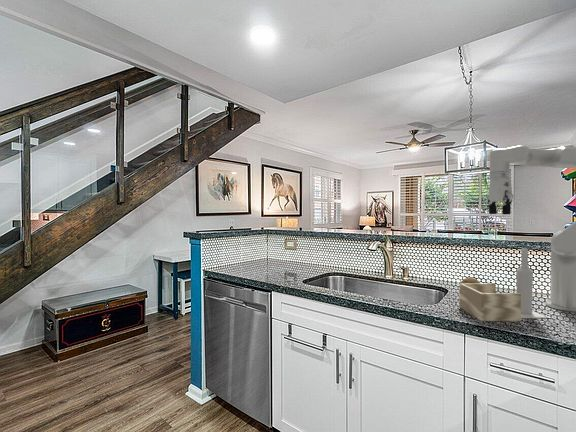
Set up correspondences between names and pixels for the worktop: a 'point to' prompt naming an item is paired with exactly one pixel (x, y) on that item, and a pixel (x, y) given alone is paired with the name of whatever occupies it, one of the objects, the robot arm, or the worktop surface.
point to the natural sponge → (470, 280)
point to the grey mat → (533, 315)
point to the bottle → (525, 283)
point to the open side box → (489, 302)
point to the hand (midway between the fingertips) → (499, 214)
